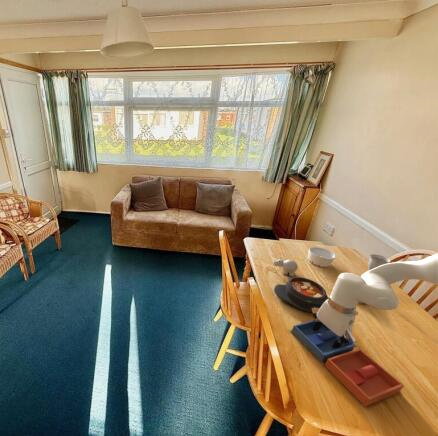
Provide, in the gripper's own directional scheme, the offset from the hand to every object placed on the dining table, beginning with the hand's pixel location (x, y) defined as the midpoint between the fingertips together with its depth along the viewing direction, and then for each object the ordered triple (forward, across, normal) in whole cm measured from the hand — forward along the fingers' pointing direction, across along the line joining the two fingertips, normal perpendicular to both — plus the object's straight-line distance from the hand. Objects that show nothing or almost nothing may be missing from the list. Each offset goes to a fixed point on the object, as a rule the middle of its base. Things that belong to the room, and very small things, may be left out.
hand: (325, 337), depth 90 cm
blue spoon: (+1, 0, +2) cm, 2 cm away
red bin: (+1, -14, +2) cm, 15 cm away
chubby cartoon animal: (+2, +41, -19) cm, 45 cm away
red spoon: (+1, -14, +2) cm, 15 cm away
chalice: (+2, +18, -51) cm, 54 cm away
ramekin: (+2, +42, -48) cm, 64 cm away
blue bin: (+1, 0, +2) cm, 2 cm away
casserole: (+2, +20, -10) cm, 22 cm away
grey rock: (+2, +14, -39) cm, 42 cm away
